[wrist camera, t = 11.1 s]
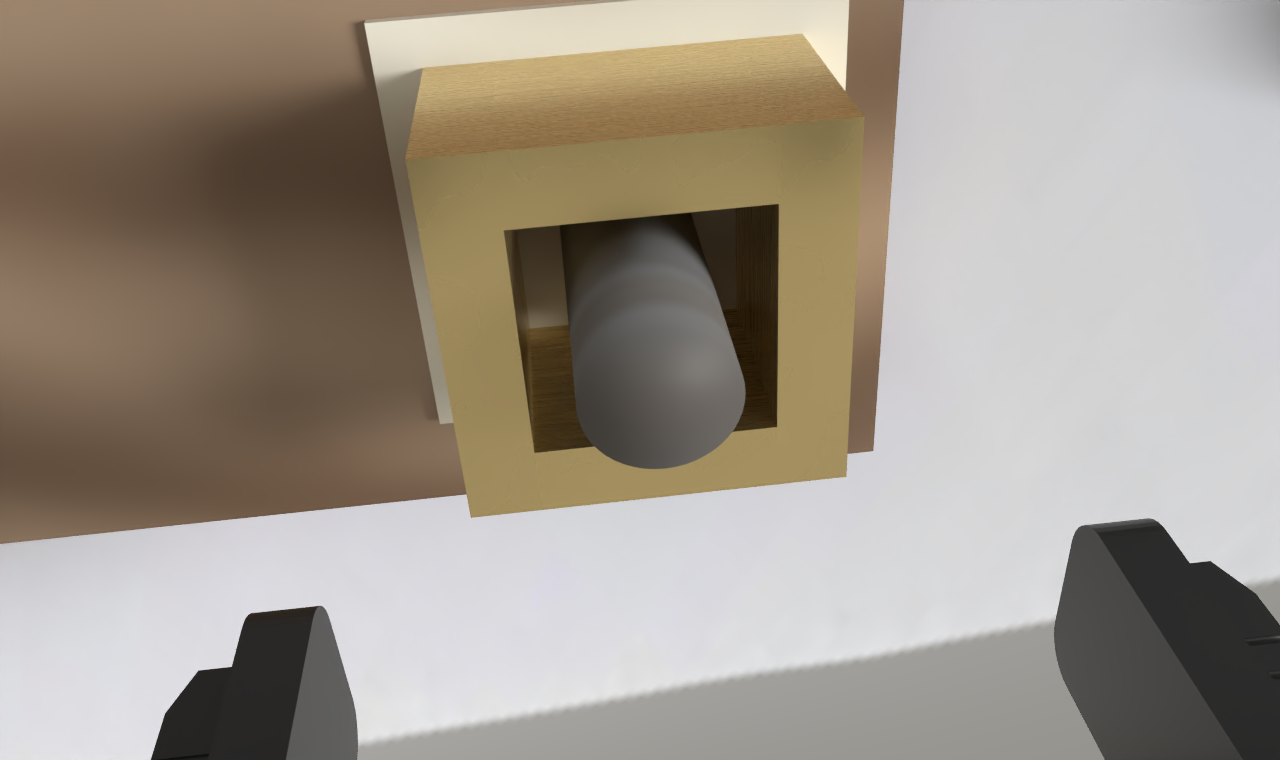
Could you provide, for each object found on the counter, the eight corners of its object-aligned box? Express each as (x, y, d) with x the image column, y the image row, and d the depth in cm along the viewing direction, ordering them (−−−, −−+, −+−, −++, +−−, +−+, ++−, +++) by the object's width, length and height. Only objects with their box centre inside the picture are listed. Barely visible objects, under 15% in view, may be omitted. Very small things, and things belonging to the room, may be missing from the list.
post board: (-610, -363, 16) (-1373, -360, 10) (895, -462, 18) (1133, -519, 11) (-133, 501, 25) (-362, 812, 19) (849, 399, 26) (966, 658, 20)
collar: (422, 67, 19) (405, 159, 16) (802, 33, 19) (864, 116, 16) (476, 387, 23) (470, 517, 19) (796, 353, 23) (846, 476, 20)
